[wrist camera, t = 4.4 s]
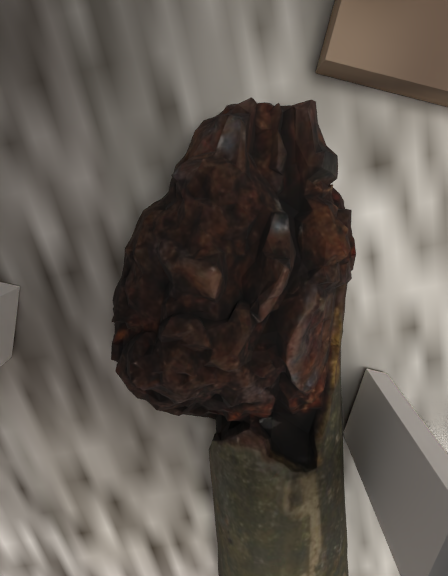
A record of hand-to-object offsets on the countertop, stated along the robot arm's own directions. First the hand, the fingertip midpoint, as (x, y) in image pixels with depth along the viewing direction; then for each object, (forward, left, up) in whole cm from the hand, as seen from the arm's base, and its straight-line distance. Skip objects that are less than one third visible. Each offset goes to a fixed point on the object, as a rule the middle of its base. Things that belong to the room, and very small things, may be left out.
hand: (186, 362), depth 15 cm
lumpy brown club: (+2, 0, -1) cm, 2 cm away
